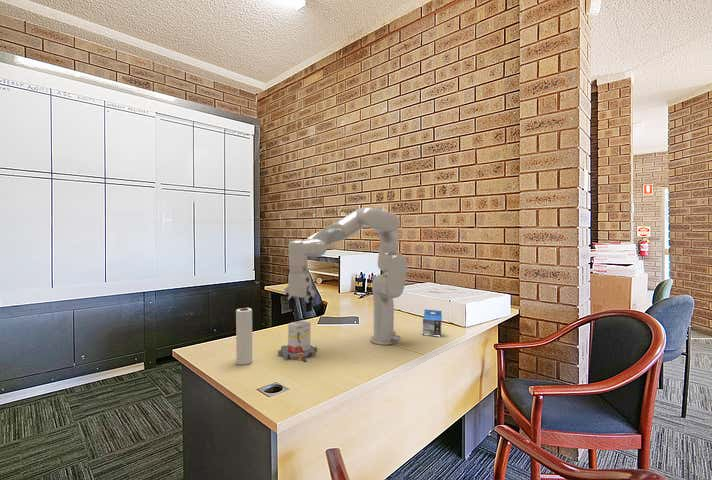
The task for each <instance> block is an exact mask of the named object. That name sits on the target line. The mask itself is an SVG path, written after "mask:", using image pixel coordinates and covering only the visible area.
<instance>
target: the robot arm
mask: <svg viewBox="0 0 712 480" xmlns="http://www.w3.org/2000/svg"><path fill="white" fill-rule="evenodd" d="M400 226H401V219H400V217H399V216H398V215H396V214H395V213H392V212H388V211H386V210H381V209H378V208H374V207H361V208H360V207H359V208H357V209H356V210H354V211H352V212H350V213H349V214H347V215H345V216H344V217H343V218H341V219H340V220H338V221H336V222H334V223H332V224H330V225H329V226H327V227H324V228H323V229H321V230H319V231H317V232H316V233H313V234H312V235H310V236H309V237H307V238H306V239H305V240H303V239H301V240H299V239H295V240H290V241H288V260H289V261H288V262H289V273H288V282H287V285H288V286H287V287H285V288H284V294H285V296H286V299H287V300H288V309H289V310H294V309H296V298H303V299H304V300H305V301H306V302H304V303H305V312H306V313H310V312H312V311H313V304H312V303H313V301H314V299H315V297H316V293H317V292H316V291H315V290H314V289H313V287H312V285H313V284H312V279H311V274H310V272H309V270H310V268H309V267H308V265H309V264H308V263H309V262H308V257H312V258H314V257H315V258H319V257H323V255H325V254H326V252H327V250H328V249H327V246H328V245H330V244H333V243H336V242H341V241H344V240H346V239H349V238H350V237H351V236H353V235H354V234H356V233H357V232H358V231H360V230H362V229H363V228H367V227H369V228H372V229H373V230H374V231H375V232H376V233H377V235H378V237H379V250H378V257H377V266H378V269H379V270H381V271H383V272H386V273H387V274H386V273H385V274H384V273H381V274H377V275H375V277H373V279H372V281H371V291H372V295H373V335H372V336H371V337H370V339H369V340H370V342H371V343H373V344H375V345H381V346H387V345H394V344H396V343H397V342H401V335H397V333H396V331H394V329H395V328H394V327H395V326H394V325H395V323H394V319H395V318H394V315H395V313H394V312H395V311H394V310H395V303H394V299H396V298H397V299H398V298H399V297H401V295H402V294H403V292H404V289H405V284H406V279H407V278H406V277H407V271H408V263H407V259H406V257H405V255H403V254H401V253H400V252H398V249H399V238H398V234H397V231H398V230H399V228H400ZM295 297H296V298H295Z"/></svg>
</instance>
